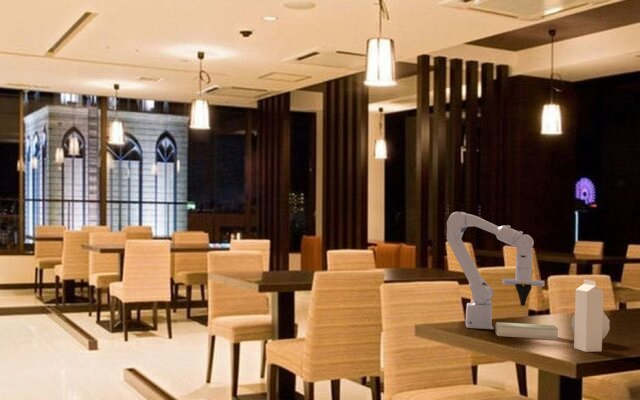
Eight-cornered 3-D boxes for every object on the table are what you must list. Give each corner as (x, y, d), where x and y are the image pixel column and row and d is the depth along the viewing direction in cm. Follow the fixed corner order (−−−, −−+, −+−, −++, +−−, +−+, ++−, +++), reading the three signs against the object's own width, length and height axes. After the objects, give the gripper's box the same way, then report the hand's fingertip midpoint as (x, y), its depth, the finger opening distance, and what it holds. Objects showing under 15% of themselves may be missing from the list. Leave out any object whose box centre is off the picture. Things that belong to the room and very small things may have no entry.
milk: (585, 352, 226) (587, 281, 226) (573, 348, 232) (575, 279, 232) (602, 351, 228) (604, 281, 228) (589, 347, 233) (591, 279, 234)
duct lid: (497, 327, 250) (498, 325, 250) (495, 324, 257) (495, 322, 257) (557, 330, 248) (557, 328, 248) (554, 327, 255) (554, 325, 255)
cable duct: (497, 335, 250) (497, 327, 250) (495, 332, 257) (495, 324, 257) (557, 339, 248) (557, 330, 248) (553, 336, 255) (554, 327, 255)
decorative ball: (612, 346, 237) (613, 310, 237) (574, 344, 239) (575, 308, 239) (604, 340, 249) (605, 305, 249) (568, 338, 251) (569, 303, 251)
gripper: (504, 267, 260) (503, 305, 260) (546, 269, 258) (545, 307, 258) (502, 266, 267) (501, 303, 267) (543, 268, 265) (541, 305, 265)
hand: (522, 305), depth 263 cm, fingers closed
